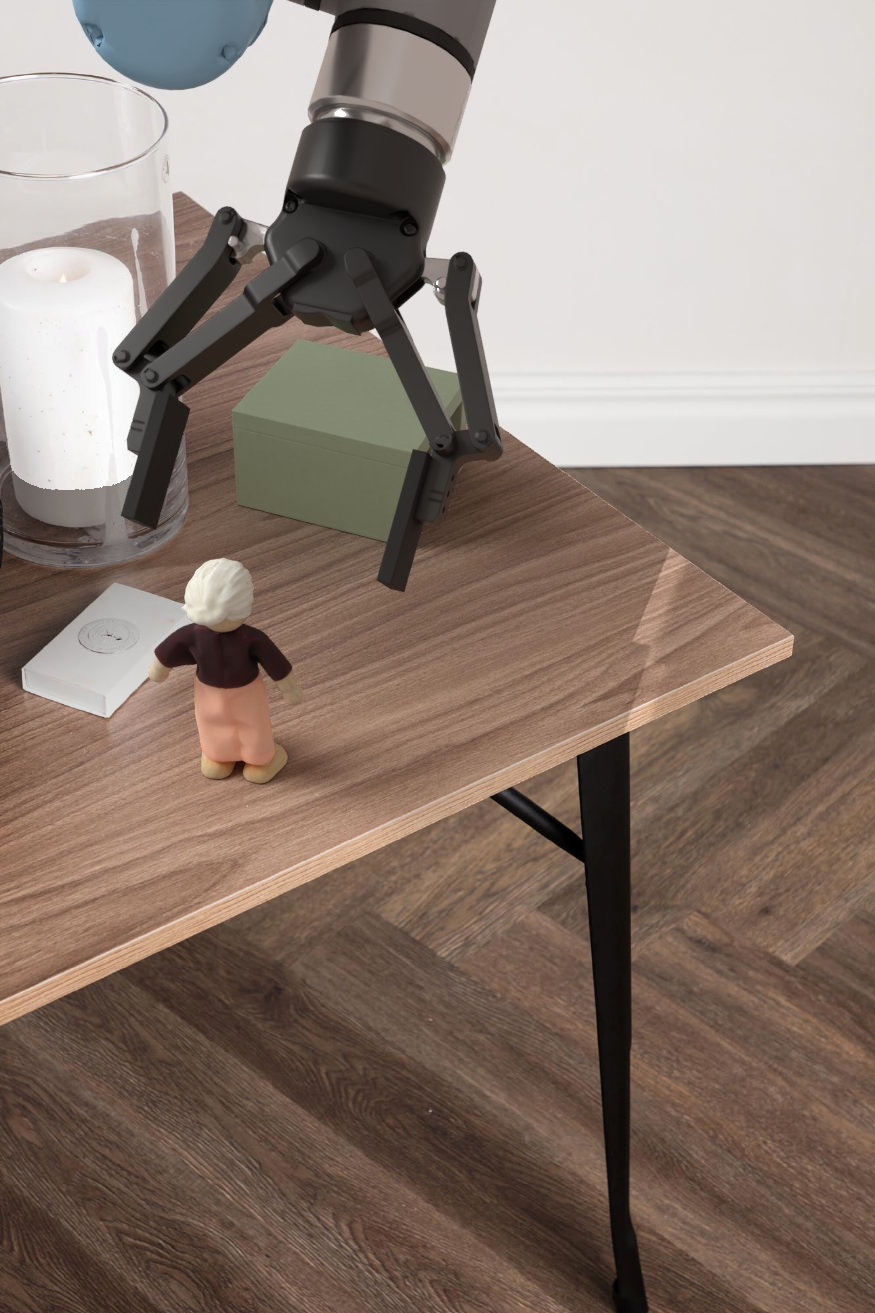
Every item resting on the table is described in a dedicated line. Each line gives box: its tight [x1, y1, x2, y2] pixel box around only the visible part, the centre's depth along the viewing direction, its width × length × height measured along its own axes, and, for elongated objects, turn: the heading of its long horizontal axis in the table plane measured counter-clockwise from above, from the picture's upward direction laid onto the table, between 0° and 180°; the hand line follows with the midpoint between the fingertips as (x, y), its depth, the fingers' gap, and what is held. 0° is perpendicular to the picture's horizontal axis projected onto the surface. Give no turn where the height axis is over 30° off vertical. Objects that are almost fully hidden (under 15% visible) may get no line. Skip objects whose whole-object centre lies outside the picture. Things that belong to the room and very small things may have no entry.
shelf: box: [231, 338, 467, 543], centre depth 91 cm, size 12×10×7 cm
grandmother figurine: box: [147, 557, 305, 784], centre depth 69 cm, size 8×4×13 cm, turn 92°
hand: (261, 555), depth 70 cm, fingers open, 13 cm apart
